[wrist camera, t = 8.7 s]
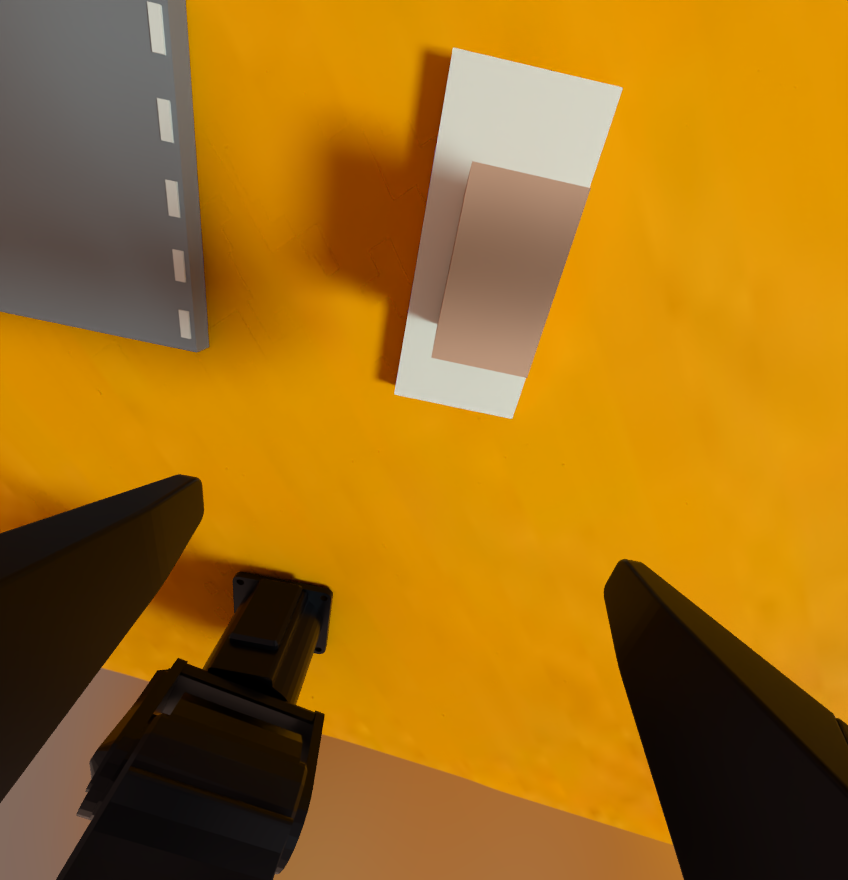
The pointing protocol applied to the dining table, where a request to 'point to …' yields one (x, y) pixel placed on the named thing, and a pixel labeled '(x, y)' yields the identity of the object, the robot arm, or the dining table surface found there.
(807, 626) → the dining table surface
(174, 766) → the robot arm
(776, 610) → the dining table surface
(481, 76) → the stub
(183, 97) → the board
